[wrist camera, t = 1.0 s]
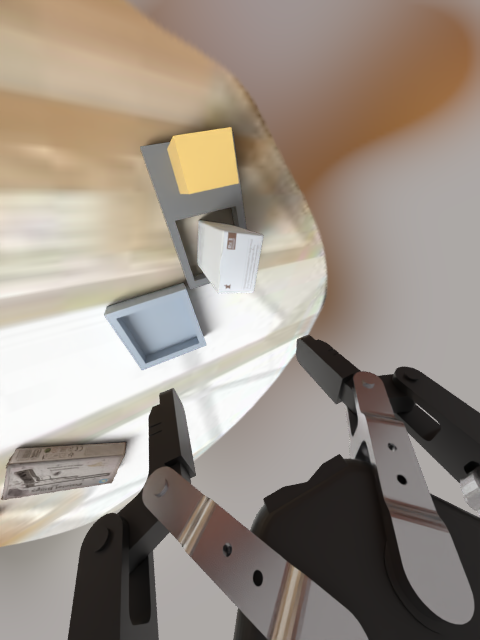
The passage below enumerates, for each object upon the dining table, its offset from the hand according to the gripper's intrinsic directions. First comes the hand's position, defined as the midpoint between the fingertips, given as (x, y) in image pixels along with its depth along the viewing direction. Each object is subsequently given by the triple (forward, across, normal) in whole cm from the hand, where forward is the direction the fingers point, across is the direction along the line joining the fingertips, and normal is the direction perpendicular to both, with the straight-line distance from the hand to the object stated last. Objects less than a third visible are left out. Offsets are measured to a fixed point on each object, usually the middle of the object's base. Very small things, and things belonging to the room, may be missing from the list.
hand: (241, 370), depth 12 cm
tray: (+22, +6, +8) cm, 24 cm away
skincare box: (+22, -4, -3) cm, 22 cm away
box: (+22, +33, +32) cm, 51 cm away
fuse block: (+22, -4, -5) cm, 23 cm away
